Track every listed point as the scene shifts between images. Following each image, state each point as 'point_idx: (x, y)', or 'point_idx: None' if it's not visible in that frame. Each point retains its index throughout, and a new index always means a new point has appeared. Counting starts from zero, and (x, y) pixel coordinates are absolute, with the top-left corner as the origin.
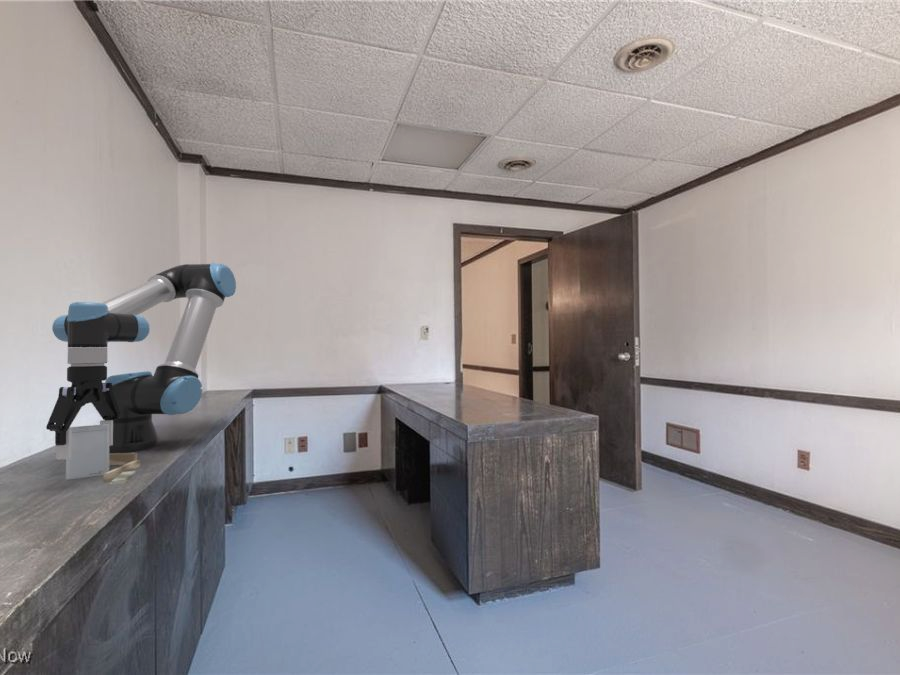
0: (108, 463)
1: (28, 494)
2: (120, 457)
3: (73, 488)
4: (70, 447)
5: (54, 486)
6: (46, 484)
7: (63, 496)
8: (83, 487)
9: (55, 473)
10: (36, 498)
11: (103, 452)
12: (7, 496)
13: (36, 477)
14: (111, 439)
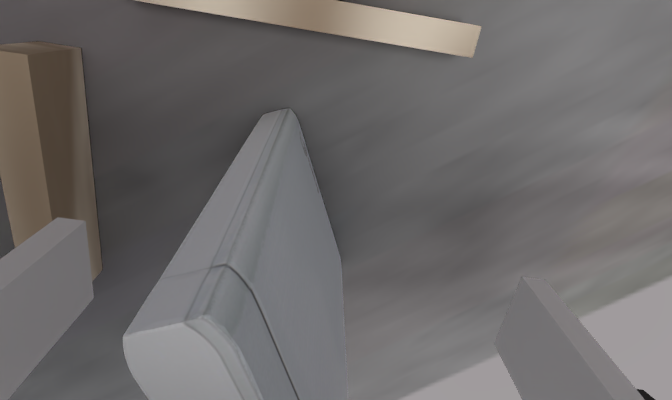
0: (275, 125)
1: None
2: (57, 148)
3: (512, 159)
4: (576, 338)
5: (435, 260)
6: (387, 307)
7: (642, 135)
8: (516, 117)
9: None
10: (606, 235)
11: (289, 177)
12: None
13: None
14: (39, 249)
